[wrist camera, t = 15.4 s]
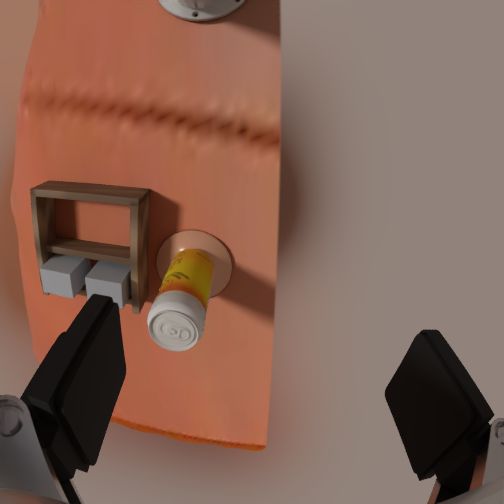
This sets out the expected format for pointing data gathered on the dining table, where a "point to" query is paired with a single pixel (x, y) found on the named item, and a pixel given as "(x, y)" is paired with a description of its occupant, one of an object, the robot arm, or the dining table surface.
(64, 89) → the dining table surface
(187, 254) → the beer can
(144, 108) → the dining table surface
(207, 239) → the coaster
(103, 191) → the rack
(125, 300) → the offcut
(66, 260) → the offcut
